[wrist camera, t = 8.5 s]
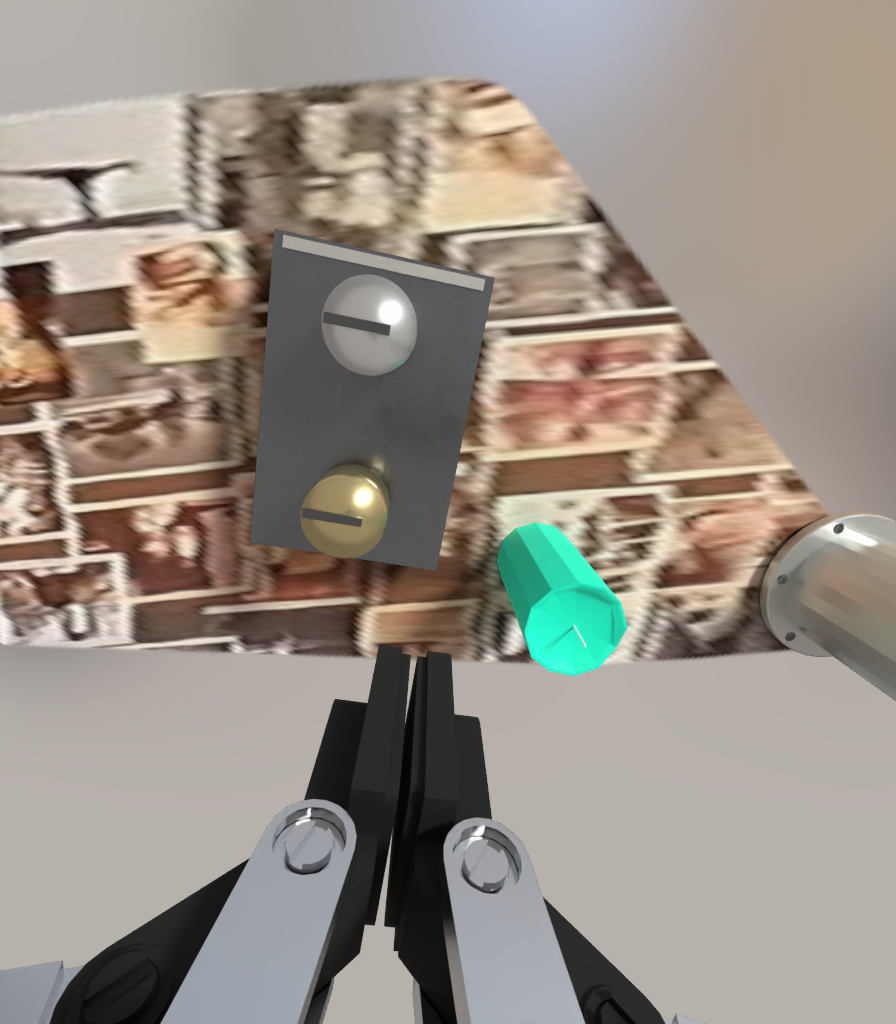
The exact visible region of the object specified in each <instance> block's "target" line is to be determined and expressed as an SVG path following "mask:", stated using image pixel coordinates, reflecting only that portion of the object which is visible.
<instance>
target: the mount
mask: <svg viewBox="0 0 896 1024" xmlns="http://www.w3.org/2000/svg"><path fill="white" fill-rule="evenodd" d="M363 274H371V275H377V276H380V277H384V278H386V279H388V280H390V281H391V282H393V283H395V284H396V285H397V286H398V287H400V288H401V289H402V291H403V292H404V293H405V294H406V295H407V297H408V298H409V300H410V302H411V304H412V306H413V308H414V311H415V315H416V320H417V339H416V344H415V347H414V349H413V351H412V353H411V355H410V356H409V358H408V359H407V360H406V361H405V362H404V363H403V364H402V365H401V366H400V367H398V368H396V369H395V370H393V371H390V372H388V373H385V374H382V375H375V376H368V375H362V374H358V373H355V372H353V371H351V370H349V369H347V368H345V367H344V366H343V365H341V364H340V363H339V362H338V361H337V360H336V359H335V358H334V356H333V355H332V354H331V352H330V351H329V349H328V347H327V345H326V343H325V340H324V337H323V332H322V313H323V308H324V305H325V302H326V300H327V298H328V297H329V295H330V293H331V292H332V291H333V290H334V288H335V287H336V286H338V285H339V284H340V283H341V282H343V281H344V280H346V279H348V278H350V277H353V276H357V275H363ZM493 283H494V277H489V276H485V275H480V274H476V273H471V272H467V271H462V270H458V269H453V268H449V267H444V266H440V265H435V264H431V263H426V262H422V261H417V260H413V259H408V258H404V257H399V256H395V255H390V254H386V253H381V252H377V251H372V250H368V249H363V248H359V247H354V246H350V245H345V244H341V243H336V242H332V241H327V240H323V239H318V238H314V237H309V236H305V235H300V234H296V233H291V232H287V231H282V230H278V229H274V242H273V255H272V268H271V281H270V293H269V306H268V319H267V332H266V345H265V358H264V371H263V384H262V396H261V409H260V422H259V435H258V448H257V461H256V474H255V486H254V499H253V512H252V525H251V538H250V543H257V544H263V545H270V546H277V547H283V548H290V549H296V550H303V551H310V552H316V553H323V552H321V551H320V550H318V549H317V548H316V547H314V546H313V545H312V544H311V543H310V541H309V540H308V539H307V537H306V535H305V533H304V531H303V529H302V525H301V508H302V505H303V502H304V500H305V498H306V496H307V495H308V493H309V492H310V491H311V490H312V488H313V487H314V486H315V485H316V483H317V482H318V481H319V480H320V479H321V477H322V476H323V475H324V474H325V473H327V472H328V471H329V470H331V469H333V468H335V467H337V466H341V465H346V464H353V465H360V466H363V467H366V468H368V469H370V470H372V471H373V472H374V473H376V474H377V475H378V476H379V477H380V478H382V481H383V482H384V484H385V485H386V487H387V490H388V493H389V499H390V505H389V511H388V516H387V521H386V526H385V531H384V533H383V536H382V538H381V539H380V541H379V542H378V544H377V545H376V546H375V547H374V548H373V549H371V550H370V551H369V552H367V553H365V554H363V555H361V556H358V557H354V558H356V559H363V560H369V561H376V562H382V563H389V564H396V565H402V566H409V567H415V568H422V569H429V570H435V571H436V568H437V563H438V558H439V553H440V548H441V543H442V538H443V533H444V528H445V523H446V518H447V513H448V508H449V503H450V498H451V493H452V488H453V483H454V478H455V473H456V468H457V463H458V458H459V453H460V448H461V443H462V438H463V433H464V428H465V423H466V418H467V413H468V408H469V403H470V398H471V393H472V388H473V383H474V378H475V373H476V368H477V363H478V358H479V353H480V348H481V343H482V338H483V333H484V328H485V323H486V318H487V313H488V308H489V303H490V298H491V293H492V288H493ZM323 554H325V553H323Z"/></svg>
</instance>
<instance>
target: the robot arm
mask: <svg viewBox="0 0 896 1024" xmlns="http://www.w3.org/2000/svg"><path fill="white" fill-rule="evenodd" d="M760 607H761V614H762V617H763V619H764V622H765V624H766V626H767V628H768V629H769V630H770V632H771V633H772V634H773V636H775V637H776V638H777V639H778V640H779V641H781V642H782V643H783V644H784V645H786V646H787V647H789V648H790V649H792V650H794V651H796V652H799V653H802V654H805V655H810V656H816V657H828V656H834V657H835V658H836V659H838V660H839V661H841V662H842V663H843V664H845V665H846V666H848V667H849V668H850V669H852V670H853V671H854V672H856V673H857V674H859V675H860V676H861V677H863V678H864V679H866V680H867V681H868V682H870V683H871V684H872V685H874V686H875V687H877V688H878V689H879V690H881V691H882V692H884V693H885V694H886V695H888V696H889V697H891V698H892V699H893V700H895V701H896V522H895V521H893V520H892V519H889V518H886V517H883V516H880V515H878V514H874V513H869V512H863V511H852V512H843V513H838V514H833V515H830V516H827V517H825V518H822V519H820V520H817V521H815V522H814V523H812V524H810V525H808V526H806V527H805V528H803V529H802V530H800V531H799V532H798V533H797V534H795V535H794V536H793V537H792V538H790V539H789V540H788V541H787V543H786V544H785V545H784V546H783V547H782V548H781V549H780V550H779V551H778V553H777V554H776V556H775V557H774V559H773V560H772V562H771V563H770V565H769V567H768V569H767V572H766V574H765V576H764V579H763V583H762V587H761V592H760ZM410 657H411V655H407V654H402V647H396V646H389V645H381V644H379V649H378V654H377V659H376V664H375V669H374V674H373V679H372V684H371V690H370V694H369V699H368V703H363V702H355V701H346V700H339V699H335V700H334V703H333V705H332V709H331V712H330V716H329V719H328V722H327V725H326V729H325V732H324V736H323V739H322V742H321V745H320V749H319V752H318V756H317V759H316V762H315V765H314V769H313V772H312V776H311V779H310V782H309V786H308V789H307V792H306V795H305V799H304V801H299V802H297V803H294V804H292V805H290V806H288V807H286V808H285V809H283V810H282V811H281V812H279V813H278V814H277V815H276V816H275V817H274V818H273V819H272V821H271V822H270V824H269V825H268V826H267V828H266V829H265V831H264V833H263V835H262V837H261V839H260V841H259V842H258V844H257V846H256V848H255V850H254V852H253V854H252V856H251V857H250V858H249V859H248V860H246V861H244V862H243V863H241V864H240V865H238V866H237V867H235V868H233V869H232V870H230V871H228V872H227V873H225V874H224V875H222V876H221V877H219V878H217V879H216V880H214V881H213V882H211V883H209V884H208V885H206V886H205V887H203V888H201V889H200V890H198V891H197V892H195V893H193V894H192V895H190V896H189V897H187V898H186V899H184V900H182V901H181V902H179V903H178V904H176V905H174V906H173V907H171V908H170V909H168V910H166V911H165V912H163V913H162V914H160V915H159V916H157V917H155V918H154V919H152V920H151V921H149V922H147V923H146V924H144V925H143V926H141V927H139V928H138V929H136V930H135V931H133V932H132V933H130V934H128V935H127V936H125V937H123V938H122V939H120V940H119V941H117V942H116V943H114V944H112V945H111V946H109V947H108V948H106V949H105V950H104V951H102V952H101V953H100V954H98V955H97V956H96V957H94V958H93V959H92V960H90V961H89V962H88V963H87V964H85V966H79V967H73V968H67V969H63V961H56V962H50V963H44V964H38V965H32V966H26V967H20V968H14V969H8V970H2V971H0V1024H322V1023H323V1020H324V1017H325V1013H326V1010H327V1006H328V1003H329V999H330V996H331V992H332V989H333V983H334V977H335V976H336V974H338V973H339V972H340V971H341V970H342V969H343V968H344V967H345V966H346V965H347V964H348V963H349V962H350V961H352V960H353V959H354V958H355V957H356V956H357V955H358V954H359V953H360V949H361V943H362V937H363V932H364V926H365V925H375V922H376V916H377V911H378V905H379V900H380V894H381V889H382V884H383V878H384V872H385V867H386V862H387V856H388V850H389V846H390V840H391V834H392V843H391V854H390V865H389V877H388V888H387V898H386V910H385V921H384V922H385V923H384V926H386V927H395V937H394V938H395V939H394V951H398V957H399V958H400V960H401V961H402V962H403V964H404V965H405V966H406V968H407V969H408V970H409V972H410V973H411V975H412V976H413V977H414V980H413V1003H414V1016H415V1024H704V1023H702V1022H699V1021H696V1020H693V1019H691V1018H688V1017H686V1016H683V1015H680V1014H677V1013H676V1015H675V1017H674V1019H673V1020H670V1019H668V1018H665V1017H662V1016H661V1015H660V1013H659V1012H658V1011H657V1010H656V1008H655V1007H654V1006H653V1005H652V1004H651V1003H650V1001H649V1000H648V999H647V998H646V997H645V996H644V995H643V994H642V993H641V992H640V991H639V990H638V989H637V988H636V987H635V986H634V985H633V984H632V983H631V982H630V981H629V980H628V979H627V978H626V977H625V976H624V975H623V974H622V973H621V972H620V971H619V970H618V969H617V968H616V967H615V966H614V965H613V964H611V963H610V962H609V961H608V960H607V959H606V958H605V957H604V956H603V955H602V954H601V953H600V952H599V951H598V950H597V949H596V948H595V947H594V946H593V945H592V944H591V943H590V942H589V941H588V940H587V939H586V938H585V937H584V936H583V935H582V934H580V932H578V930H577V929H575V928H574V927H573V926H572V925H571V924H570V923H569V922H568V921H567V920H566V919H565V918H564V917H563V916H562V915H561V914H560V913H559V912H558V911H557V910H556V909H555V908H554V907H553V906H552V905H551V904H550V903H549V902H548V901H547V900H546V899H545V898H543V896H542V893H541V891H540V887H539V885H538V882H537V879H536V876H535V873H534V870H533V867H532V864H531V861H530V858H529V855H528V853H527V851H526V849H525V847H524V845H523V843H522V842H521V841H520V839H519V838H518V837H517V836H516V835H515V834H514V832H512V831H511V830H509V829H508V828H507V827H505V826H504V825H503V824H501V823H498V822H496V821H493V820H492V816H491V808H490V800H489V792H488V784H487V775H486V767H485V760H484V751H483V743H482V735H481V728H480V721H479V719H478V717H471V716H464V715H456V714H454V698H453V680H452V661H451V654H447V653H439V652H432V651H428V652H427V655H426V657H421V656H418V657H417V662H416V668H415V674H414V679H413V685H412V690H411V695H410V701H409V707H408V712H407V718H406V723H405V716H406V705H407V692H408V681H409V669H410ZM392 829H393V833H392Z"/></svg>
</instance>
